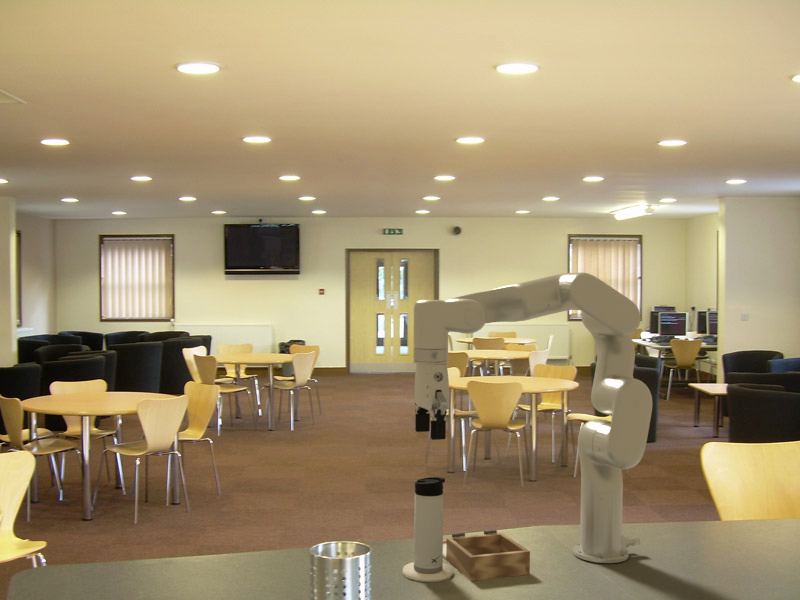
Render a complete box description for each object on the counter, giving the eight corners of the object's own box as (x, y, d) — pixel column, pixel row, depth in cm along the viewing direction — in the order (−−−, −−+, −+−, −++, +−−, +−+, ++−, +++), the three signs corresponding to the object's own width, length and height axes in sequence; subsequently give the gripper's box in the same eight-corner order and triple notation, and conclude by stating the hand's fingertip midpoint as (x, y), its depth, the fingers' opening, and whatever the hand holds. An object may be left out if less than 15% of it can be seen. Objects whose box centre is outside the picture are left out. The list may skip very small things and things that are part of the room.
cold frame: (482, 540, 203) (483, 516, 203) (529, 574, 179) (530, 547, 179) (429, 545, 199) (429, 521, 198) (470, 580, 175) (470, 553, 175)
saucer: (442, 562, 186) (442, 559, 186) (460, 579, 176) (461, 575, 176) (396, 567, 183) (396, 563, 183) (412, 584, 172) (412, 580, 172)
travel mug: (441, 575, 176) (442, 481, 175) (411, 573, 177) (412, 480, 177) (445, 565, 182) (446, 475, 181) (416, 563, 183) (417, 473, 183)
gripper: (462, 359, 172) (461, 441, 172) (433, 353, 188) (432, 427, 188) (428, 360, 169) (427, 443, 169) (401, 353, 186) (401, 429, 186)
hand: (430, 435), depth 179 cm, fingers open, 9 cm apart
